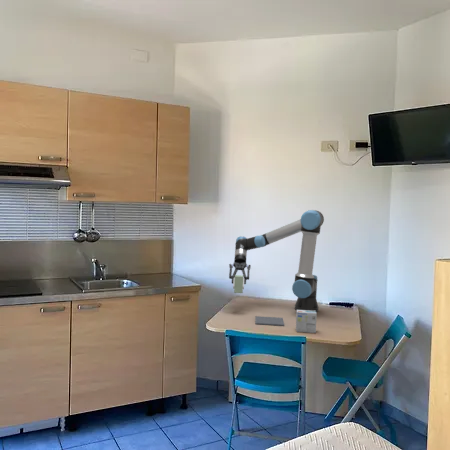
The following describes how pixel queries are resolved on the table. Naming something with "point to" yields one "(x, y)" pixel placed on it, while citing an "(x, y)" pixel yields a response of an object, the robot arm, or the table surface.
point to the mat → (269, 321)
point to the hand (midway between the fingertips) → (238, 287)
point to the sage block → (238, 284)
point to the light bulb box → (306, 321)
